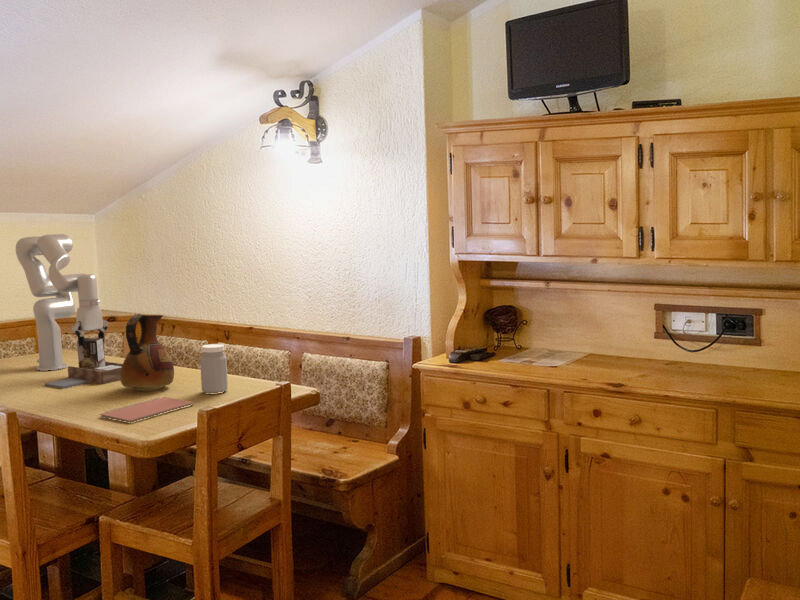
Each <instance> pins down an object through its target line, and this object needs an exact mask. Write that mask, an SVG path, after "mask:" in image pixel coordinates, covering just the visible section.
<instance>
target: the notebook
mask: <svg viewBox="0 0 800 600" xmlns="http://www.w3.org/2000/svg"><path fill="white" fill-rule="evenodd" d="M191 404H193V405H194V404H195V402H194V401H189V400H184V399H178V398H171V397H167V396H163V397H156V398H153V399H149V400H145V401H142V402H137V403H133V404H129V405H127V406H126V405H125V406H123V407H122V406H121V407H118V408H115V409H112V410H107V411H105V412H102V413H99V415H100V417H105V418H104V419H106V418H111V419H116V420H121V421H126V422H130V423H131V422H134V421H137V420H140V419H144V418H148V417H151V416H154V415H158V414H160V413H164V412H167V411H170V410H174V409H177V408H181V407H184V406H188V405H191ZM111 419H110V420H111Z"/></svg>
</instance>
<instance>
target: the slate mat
mask: <svg viewBox="0 0 800 600" xmlns="http://www.w3.org/2000/svg"><path fill="white" fill-rule="evenodd" d="M86 383H87V384H90V382H89V380H83V379H76V378H68V377H67V378H63V379H59V380H53V381H49V382H44V386H45V385H46V386H45V387H49V386H51V387H50V388H54V387H57V388H56V389H60V388H65V389H69V388H68V387H70V388H73V387H72V386H74V387H77V386H76V385H78V386H82V385H81V384H83V385H86Z"/></svg>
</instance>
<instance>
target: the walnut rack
mask: <svg viewBox="0 0 800 600" xmlns="http://www.w3.org/2000/svg"><path fill="white" fill-rule="evenodd" d="M105 365H106V366H109V365H114V366H121V368H122V365H123V363H119V362H112V361H106V360H105ZM121 368H116V369H111V370H107V371H98V370H92V369H85V368H79V366H67V373H68V374H67V376H68V377H67V378H76V379H83V380H89V381H90V382H89V383H94V382H96V384H100V383H101V385H105V384H108V383H109V384H111V383H114V382H118V381H121Z"/></svg>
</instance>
